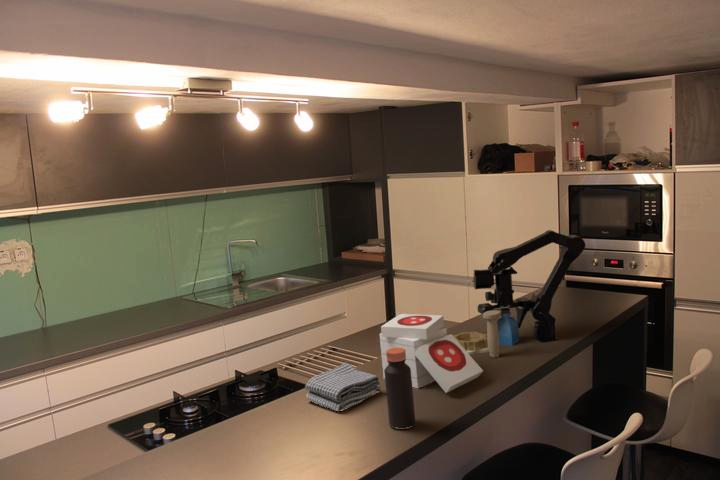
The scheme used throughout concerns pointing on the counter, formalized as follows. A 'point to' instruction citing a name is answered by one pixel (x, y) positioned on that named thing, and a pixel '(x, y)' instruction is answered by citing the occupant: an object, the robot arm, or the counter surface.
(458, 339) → the gear board
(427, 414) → the counter surface
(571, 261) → the robot arm
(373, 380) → the towel
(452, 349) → the pizza boxes
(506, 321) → the perfume bottle
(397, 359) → the vinegar
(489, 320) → the handle
